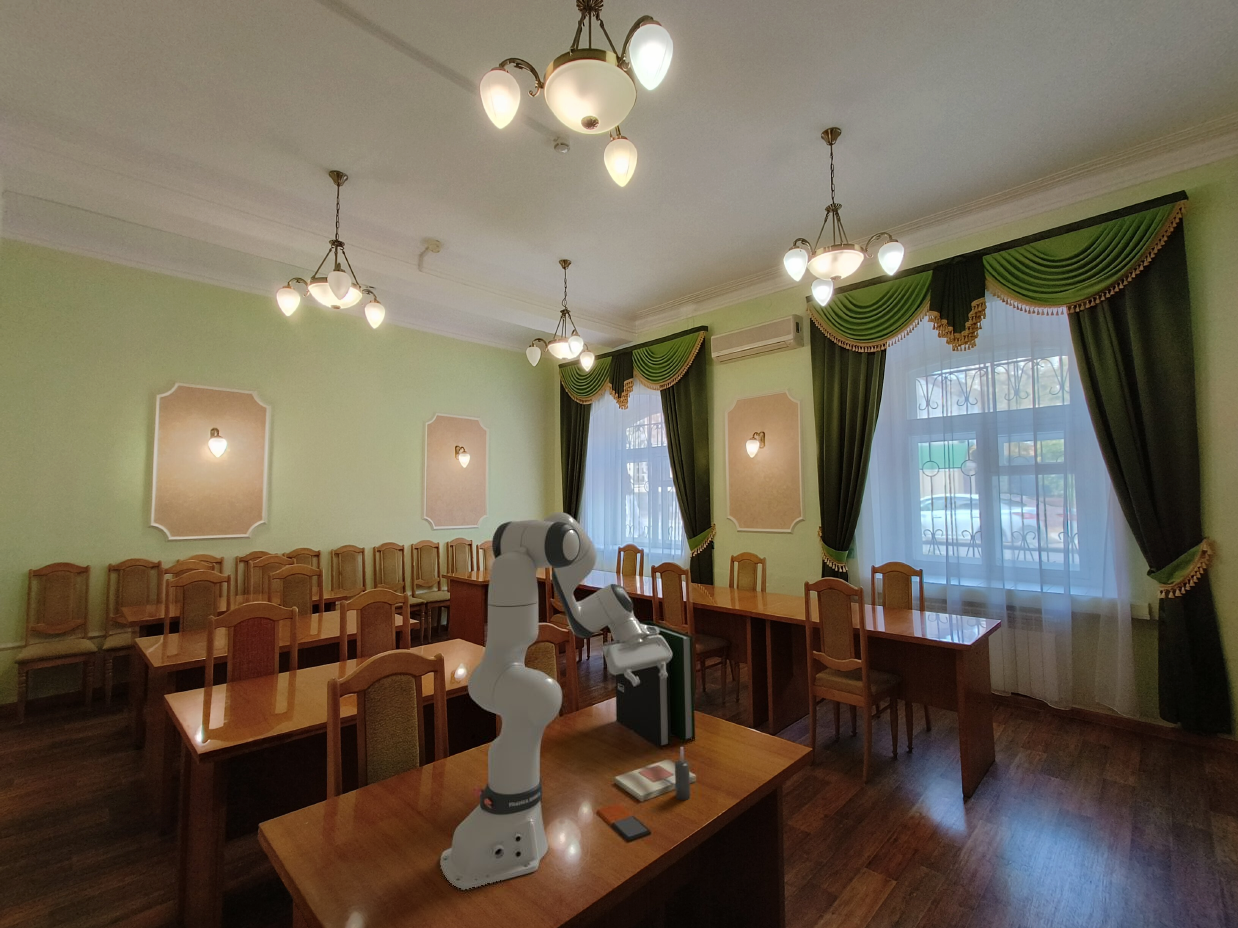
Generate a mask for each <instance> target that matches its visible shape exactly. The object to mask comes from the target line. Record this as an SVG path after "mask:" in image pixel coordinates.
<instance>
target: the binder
mask: <svg viewBox="0 0 1238 928" xmlns="http://www.w3.org/2000/svg"><path fill="white" fill-rule="evenodd" d="M639 623H640V624H643V625H647V626H654V627H657V628H658V629H659V634H658V635H661V636H662V637H663V638H664V639H665V641H666V642H667V644H668V645H669V647H670V649H671V651H672V658H671V660H670V661H669V662H668V663H666V672H667V674H668V676H667V678H665V679H661V678H660V676H659V673H660V672H661V668H658V666H653V667H648V668H644V669H639V670H635V671H631V673H632V674H633V675H634V676H635V677H637V676H638V678H639V680H640V684H639V685H637V686H633V684H632V682H631V681H630V680H629V679H627V678H626V677H625V676H624V674H623V673H622V674H618V675H615V708H616V710H615V711H616V713H615V715H616V720H615V721H616V722H617V723H619V724H621V725H622V726H624V727H625V728H627V729H628V730H630V731H631V732H632V733H635V734H636V735H637V736H639V737H640V738H642V739H644V740H645V741H647V742H649V743H650V744H651V745H653V746H654V745H655V746H654V747H656V748H658V749H659V748H660V749H659V750H662V746H663V745H666V744H667V745H666V746H667V747H670V748H672V740H671V739H672V738H671V737H672V735H674V736H675V737H674V736H673V737H674V738H676V737H677V738H676V739H678V740H679V739H680V740H679V741H681V740H682V741H681V742H682V743H684V742H685V744H687V739H691V738H692V739H694V740H695V741H696V727H695V726H696V723H695V722H696V721H695V719H696V718H695V687H694V686H695V685H694V683H695V681H694V680H695V678H694V677H695V675H694V650H693V649H694V648H693V647H694V645H693V635H690V634H687V633H685V632H682V631H680V630H679V631H678V630H677V629H673V628H670V627H668V626H665V625H662V624H660V623H657V622H654V621H651V620H648V621H647V620H646V621H639ZM671 734H672V735H671ZM692 739H691V740H692ZM694 740H693V741H694Z"/></svg>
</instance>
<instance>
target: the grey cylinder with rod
mask: <svg viewBox="0 0 1238 928" xmlns="http://www.w3.org/2000/svg"><path fill="white" fill-rule="evenodd" d="M679 752H680V753H679V754H680V756H679V758H680V759H679V760H677V761H675V762H674V763H675V787H676V789H675V798H676V799H677V800H680V801H687V800H689V799H690V798H691V786H690V785H691V783H690V776H689V772H690V763H689V762H688V761H687V760H685V759H684V747H683V746H680V748H679Z"/></svg>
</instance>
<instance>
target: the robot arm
mask: <svg viewBox="0 0 1238 928" xmlns="http://www.w3.org/2000/svg"><path fill="white" fill-rule="evenodd" d="M491 547H492V548H491V549H492V554H493V556H494V560H493V561H492V565H491V570H490V576H489V583H488V592H487V593H488V594H487V635H486V642H485V643H486V644H485V647H484V651H483V654H482V657H481V660H480V662H479V663H478V664H477V665H476V666H475V667H474V669H473V670H472V671H471V674H470V675H469V678H468V683H467V691H468V694H469V696H470V698H471V699H472V700H473V701H474V702H475V703H476V704H477V705H478V706H479V707H481V708H482V709H484V710H485V711H487V712H491V713H494V714H496V715H498V716H500V718H501V723H502V724H501V730H500V734H499V735H498V737H496V738H494V740H492V742H491V743H490V745H489V748H488V753H487V754H488V761H487V765H488V775H487V777H488V782H487V783H486V786H485V788H484V789H483V788H482V787H481V786H480V785H475V786H473V788H472V790H471V793H472V795H473V796H474V797H475V798H476V799H479V804H478V805H477V806H476V807H475V808H474V810H473V811H472V812H471V813H469V814H468V816H466V818H464V820H463V821H462V822H461V823H460V824H458V825H457V827H456V828H455V830H454V833H453V837H452V841H451V842H452V843H451V847H450V848H447V849H445V850H444V851H443V852H442V854H441V856H440V861H439V865H441V867H440V870H441V869H442V871H443V873H444V875H445V877H446V878H447V880H449V882H450V883H452V885H451V886H453V885H454V886H456V887H458V888H457V889H459V888H461V889H460V890H461V891H466V890H465V889H467V890H470V889H469V888H471V889H473V888H472V887H475V888H478V886H479V887H482V886H481V885H483V886H485V884H486V885H488V884H487V883H490V884H493V882H494V883H496V881H497V882H500V880H501V881H504V880H509V879H511V878H516V877H518V876H519V877H520V876H522V875H527V874H530V873H533V872H536V871H537V870H538V868H539V865H540V861H541V860H542V858H543V857H545V855H546V854H547V851H548V850H549V849H548V848H549V842H548V838H547V836H546V832H545V827H544V821H543V813H542V802H543V781H542V777H541V774H540V773H541V771H540V769H541V768H540V767H541V766H540V765H541V764H540V763H541V744H542V739H543V735H544V732H545V729H546V727H547V726H548V725H549V724H550V723H552V721H553V720H555V718H556V717H557V716H558V714H559V713H560V709H561V708H562V703H563V691H562V688H561V686H560V684H559V682H557V681H556V680H555V679H554V678H552V677H551V676H550V675H548V674H546V673H545V672H543V671H541V670H537V669H533V668H531V667H526V665H525V658H526V654H527V651H528V648H529V646H531V645H533V644H534V643H535V642H536V640H537V638H538V635H539V631H540V630H539V587H538V586H539V585H538V579H537V578H538V577H537V571H538V570H539V569H547V568H548V569H549V568H553V570H552V573H551V582H552V584H553V587H554V589H555V591H556V594H557V597H558V598H559V601H560V603H561V605H562V608H563V610H564V612H565V613H564V614H565V615H566V619H567V623H568V626H569V629H570V630H571V632H572V633H573V635H575V636H576V637H577V638H578V637H579V638H583V639H589V638H591V637H592V636H594V635H596V633H597V632H599V631H600V630H602V629H603V628H605V627H607V626H608V628H609V629H610V633H611V634H610V635H611V637H612V639H613V640H612V641H605V642H604V643H603V644H602V645H601V652H602V653H603V656H604V658H605V661H606V665H607V669H608V672H609V673H610V674H612V676H616V675H618V674H622V673H623V674H624V676H625V677H626V678H627V679H629V680H630V681H631V682H632V684H633V686H637V685H639V684H640V680H639V678H638V676H637V677H635V676H634V675H633V674H632V673H631V671H635V670H639V669H644V668H648V667H653V666H658V668H661V672H660V673H659V676H660V678H661V679H665V678H667V676H668V674H667V672H666V663H668V662H669V661H670V660H671V658H672V651H671V649H670V647H669V645H668V644H667V642H666V641H665V639H664V638H663V637H662V636H661V635H658V634H659V629H658V628H657V627H654V626H647V625H643V624H640V623H639V622H640V621H639V620H638V619H637V618H636V616H635V614H634V604H633V602H632V600H631V598H630V596H629V593H628V591H627V590H626V589H625V587H624V586H623V585H619V584H616V583H610V584H608V585H606V586H604V587H602V588H600V589H599V590H597V591H596V592H594V593H593V594H590V595H589V596H587V597H585V598H584V599H582V600H579V601H577V600H576V598H575V596H574V591H575V590H576V589H577V587H579V585H580V583H582V582H583V581H584V580H585V579H586V578H587V577H589V575H590V574H591V573H592V571H593V570H594V567H595V565H596V561H597V556H598V555H597V550H596V548H595V544H594V543H593V541H592V539H591V537H590V536H589V535H588V533H587V532H586V530H585V529H584V528H583V526H582V525H581V524H580V523H579V522H578V521H577V520H576V519H575V518H574V517H573V516H571V515H570V514H568V513H566V512H555V513H552V514H549V515H548V516H547V517H546V518H545V519H544V520H537V519H527V520H520V521H518V520H512V521H511V520H510V521H506V522H504V523H501V524H499V526H498V527H497V528H496V529H495V532H494V533H493V536H492V540H491ZM442 871H441V872H442ZM443 873H442V874H443ZM444 875H443V876H444ZM445 877H444V878H445ZM446 878H445V879H446ZM449 882H448V883H449ZM450 883H449V884H450ZM454 886H453V887H454ZM456 887H455V888H456Z"/></svg>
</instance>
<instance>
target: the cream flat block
mask: <svg viewBox="0 0 1238 928" xmlns="http://www.w3.org/2000/svg"><path fill="white" fill-rule="evenodd" d="M689 776H690V784H692V783H695V782H697V774H694V772H693V773H692V772H691V771H689ZM614 784H616V785H617V786H618V787H620V788H621V789H623V790H625V792H627V793H629V794H630V795H631V796H633V797H634V798H636V799H637V800H638V801H640V802H644V801H648V800H650V799H653V798H654V797H657V796H660V795H663V794H665V793H668V792H671V791H674V790H676V787H675V762H673V761H672V760H670V759H668V758H667V759H664V760H662V761H659V762H655V763H651V764H649V765H647V766H644V767H641V768H638V769H637V768H636V769H635V770H632V771H628V772H625V773H623V774H620V775H617V776H615V777H614Z"/></svg>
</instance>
